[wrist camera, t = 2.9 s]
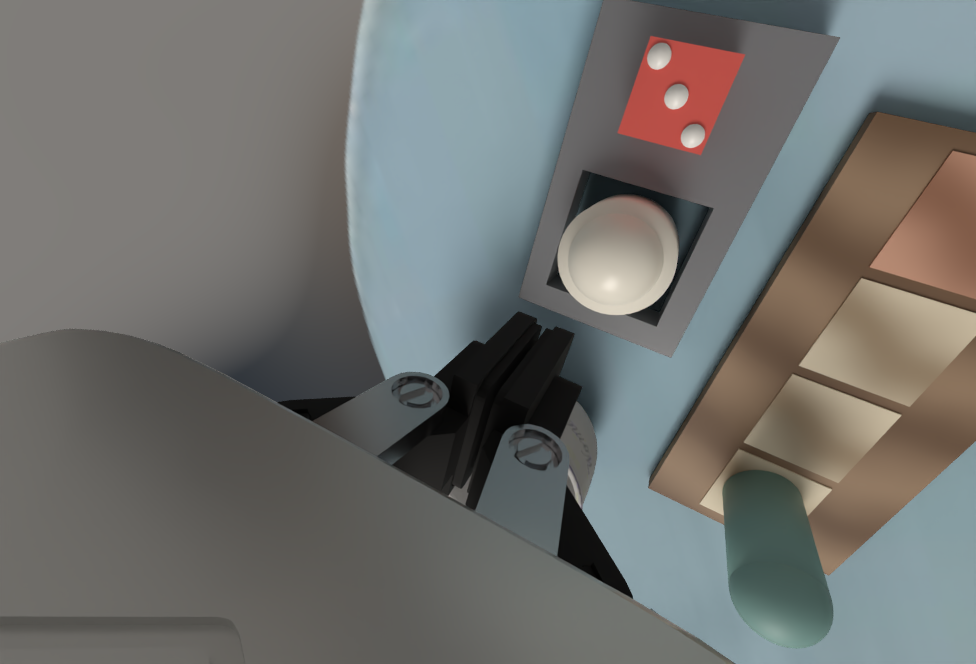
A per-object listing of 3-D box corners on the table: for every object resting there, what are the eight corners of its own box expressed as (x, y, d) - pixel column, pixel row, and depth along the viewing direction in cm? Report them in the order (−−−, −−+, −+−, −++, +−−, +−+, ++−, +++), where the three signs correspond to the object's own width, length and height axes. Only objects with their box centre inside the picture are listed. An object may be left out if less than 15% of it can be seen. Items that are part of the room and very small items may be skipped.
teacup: (590, 491, 34) (566, 575, 28) (472, 446, 38) (424, 511, 31) (629, 340, 28) (609, 401, 22) (483, 304, 32) (427, 347, 25)
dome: (591, 180, 24) (567, 189, 19) (698, 212, 22) (700, 230, 18) (559, 276, 27) (531, 304, 22) (652, 311, 25) (643, 348, 21)
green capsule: (743, 458, 27) (761, 586, 19) (818, 492, 26) (869, 642, 18) (709, 502, 29) (714, 632, 21) (777, 535, 28) (807, 684, 20)
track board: (869, 113, 19) (878, 111, 18) (1219, 188, 16) (1251, 191, 15) (649, 478, 32) (648, 488, 31) (824, 562, 28) (829, 576, 27)
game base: (613, 10, 22) (588, -32, 17) (824, 49, 19) (872, 14, 14) (530, 286, 30) (496, 316, 24) (672, 341, 27) (667, 388, 22)
